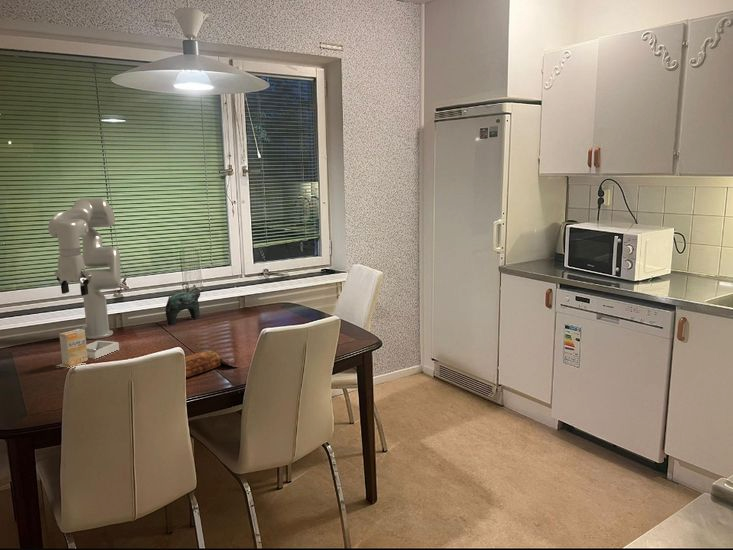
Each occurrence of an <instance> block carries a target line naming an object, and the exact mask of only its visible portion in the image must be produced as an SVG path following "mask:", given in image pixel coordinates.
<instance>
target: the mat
mask: <svg viewBox="0 0 733 550" xmlns="http://www.w3.org/2000/svg"><path fill="white" fill-rule="evenodd" d="M81 364H86V363H82V362H81V363H78V364H75V365H81ZM75 365H72V366H75ZM55 366H60V367H67V368H66V369H68V368H70V367H72V366H70V367H69V366H66V365H63V364H62V363H59V364H57V365H55Z"/></svg>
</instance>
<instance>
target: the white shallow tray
mask: <svg viewBox="0 0 733 550" xmlns="http://www.w3.org/2000/svg"><path fill="white" fill-rule="evenodd" d="M86 347H87V358H93V359H96V358H99V357H101V356H104V355H107V354H109V353H111V352H114V351H116V350H118V351H120V345H119V342H117V341H109V340H108V341H107V340H96V341H94V342H91V343H88V344H86ZM97 349H98V350H97ZM116 352H117V351H116ZM114 353H115V352H114ZM111 354H112V353H111ZM109 355H110V354H109ZM107 356H108V355H107ZM104 357H105V356H104Z"/></svg>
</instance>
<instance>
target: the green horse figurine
mask: <svg viewBox="0 0 733 550" xmlns="http://www.w3.org/2000/svg"><path fill="white" fill-rule="evenodd" d="M185 284H186V285H187V286H185V289H186V290H185V291H180V290H175V291H173V292H171V293H170V294H169V296H168V300H167V302H166V305H165V315H166V316H165V317H166V320H167V326H171V325H172V326H175V324H176V325H177V316H178V315H179V313H180V312H182V311H183V310H188V312H189V314H190V317H191V319H192V318H194V319H193V320H197V319H196V318H198V317H200V304H199V298H200V297H201V290H200V288H198V287H197V286H196V284H193V286H191V287H189V286H190V285H189V283H187V282H183V283H182V284H181V286H182V287H183V286H184V285H185ZM198 319H199V318H198Z"/></svg>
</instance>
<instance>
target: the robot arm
mask: <svg viewBox="0 0 733 550" xmlns="http://www.w3.org/2000/svg"><path fill="white" fill-rule="evenodd" d="M115 219H116V218H115V214H114V211H113V209H112V206H111V205H110V203H109V202H108V201H107V200H106V199H105V198H103V197H102V198H99V197H97V198H80V199H77V200H76V201H74V204H73V205H72V206H71V208H70V209H66V210H64V211H61V212H58V213H56V214H54V215H53V216H52V217H51V219H50V220H49V223H48V226H47V227H48V229H47V230H48V233H49V235H50V236H51V237H52V238H56V239H57V241H58V252H59V255H58V258H57V271H55V272H54V276H55V277H56V280H57V281H58V284H60V288H61V294H63V295H65V294H68V293H70V288H69V282H75V283H76V282H79V286H80V287H79V288H80V295H81V296H82V298H83V307H84V316H85V325H83V326H82V327H81V328H80V329H82V330H85V337H86V340H88V339H89V340H96V339H97V340H98V339H104V338H108V337H111V336H112V335H113V334H114V331H113V330H111V329H110V326H109V314H108V307H107V298H106V296H105V295H104V294H103V292H102V290H116V289H118V288H120V286H121V282H122V280H121V279H122V277H121V276H122V275H121V273H122V272H121V255H120V251H119V249H118V248H116V247H114V246H104V245H103V236H102V235H101V234H100V233H99V232H98V231H97V229H95V228H109V227H112V226H113V225H114V224H115V221H116V220H115ZM80 238H82V239H81V240H82V251H81V241H80ZM86 267H87V268H98V269H88V270H86ZM100 268H102V269H100Z"/></svg>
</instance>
